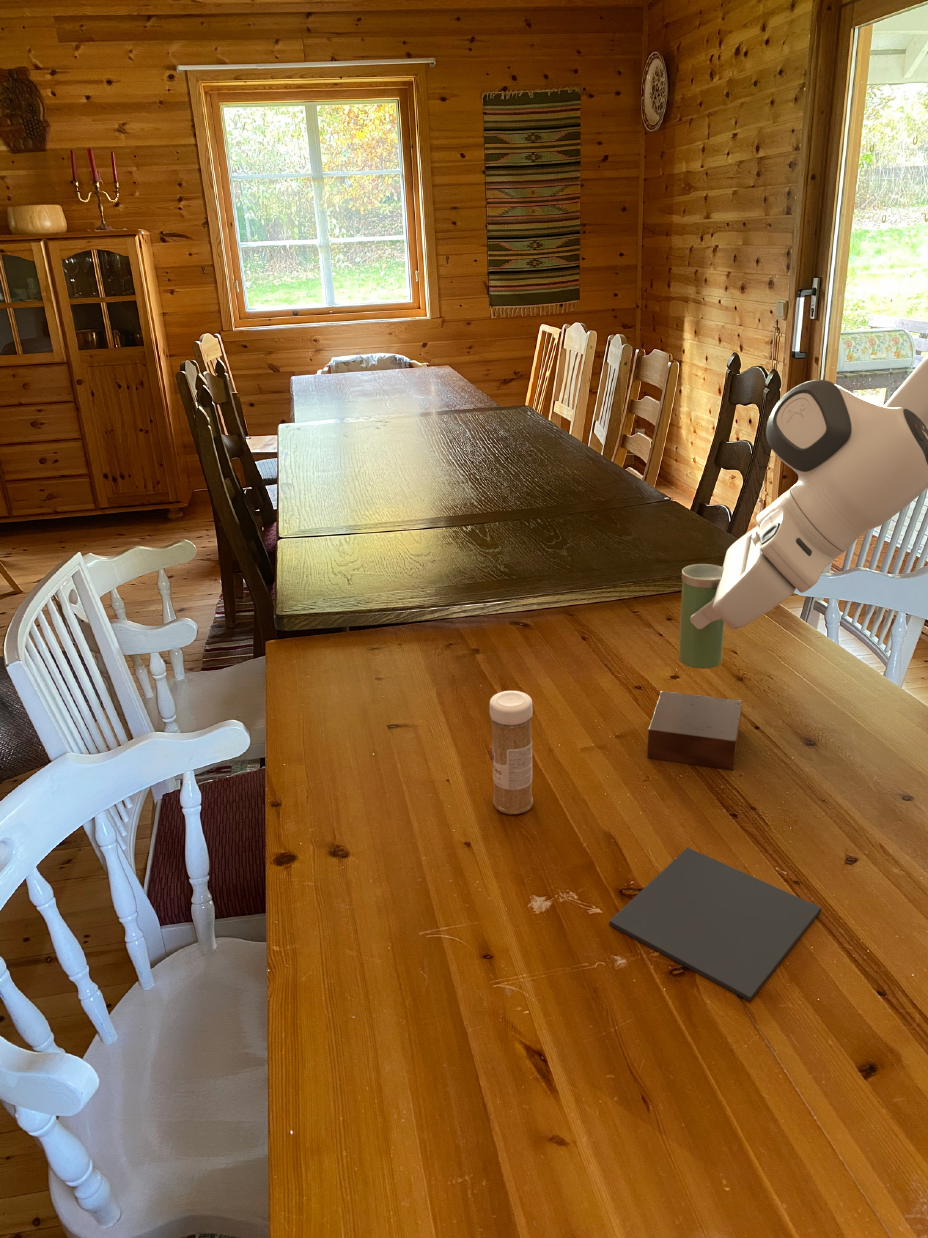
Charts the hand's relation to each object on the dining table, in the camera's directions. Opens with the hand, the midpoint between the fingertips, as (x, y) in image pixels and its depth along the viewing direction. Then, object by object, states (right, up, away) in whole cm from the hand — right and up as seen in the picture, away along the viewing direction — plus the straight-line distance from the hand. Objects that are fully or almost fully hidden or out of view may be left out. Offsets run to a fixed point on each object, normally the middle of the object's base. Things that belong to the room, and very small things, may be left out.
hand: (697, 612), depth 105 cm
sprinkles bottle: (-21, -22, -3) cm, 31 cm away
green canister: (+1, -6, +2) cm, 6 cm away
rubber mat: (-4, -29, -21) cm, 35 cm away
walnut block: (+1, -16, +7) cm, 18 cm away
